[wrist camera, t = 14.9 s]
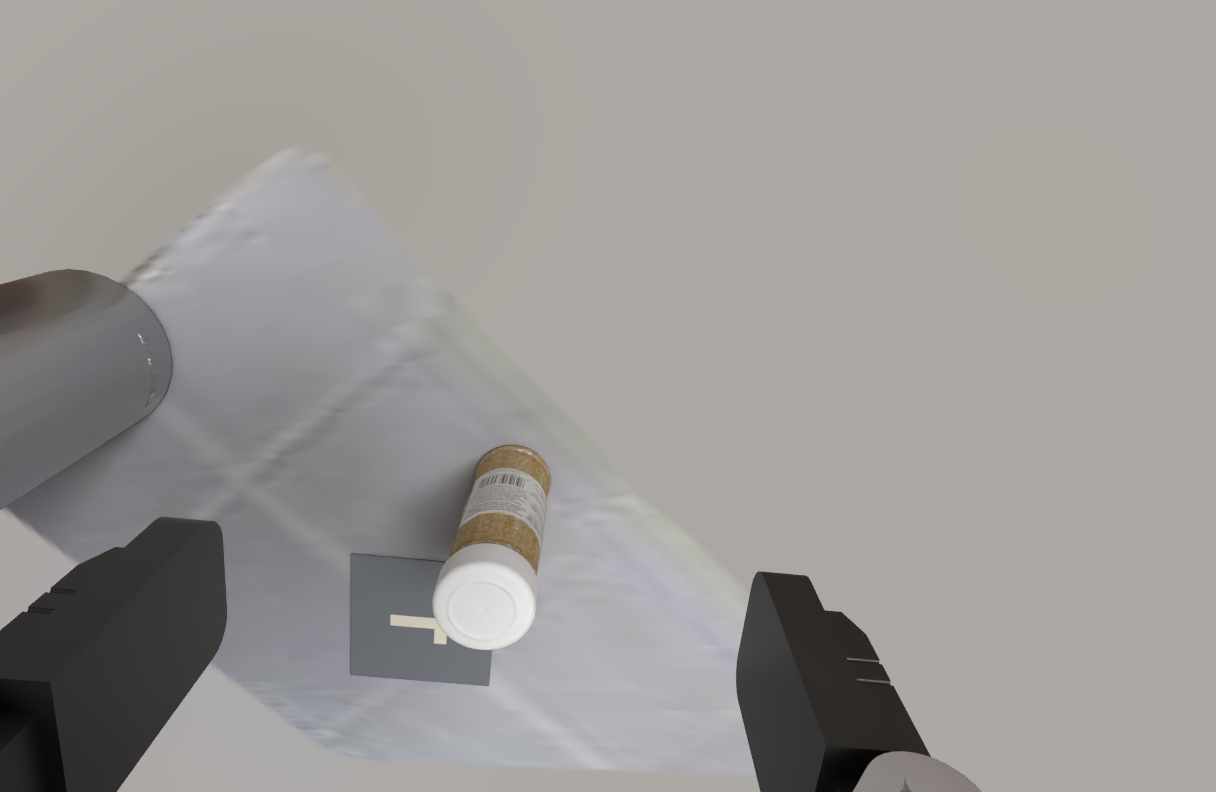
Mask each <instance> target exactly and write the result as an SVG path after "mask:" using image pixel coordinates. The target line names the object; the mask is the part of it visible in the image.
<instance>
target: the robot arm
mask: <svg viewBox="0 0 1216 792" xmlns="http://www.w3.org/2000/svg"><path fill="white" fill-rule="evenodd" d="M171 368H172V358H171V353H170V348H169V343H168V340H167V338H166V336H165V333H164V331H163V328H162V326H161V325H160V323H159V322H158V320H157V318H156V317H155V315H154V314H153V312H152V311H151V310H150V309H149V308H148V307H147V306H146V305H145V303H144V302H143V301H142V300H141V299H140V298H139V297H138V296H136V295H135V294H134V293H132V292H131V291H130V290H128V289H127V288H126V287H124V286H123V285H121V284H119V283H117V282H115V281H113V280H111V279H109V278H107V277H105V276H102V275H99V274H95V273H92V272H88V271H82V270H72V269H65V270H57V271H49V272H45V273H42V274H38V275H34V276H30V277H26V278H23V279H19V280H15V281H11V282H8V283H4V284H0V510H1V509H3V508H4V507H6V506H7V505H9V504H10V503H12V502H14V501H15V500H17V499H18V498H20V497H21V496H23V495H24V494H26V493H28V492H29V491H31V490H32V489H34V488H35V487H37V486H38V485H40V484H42V483H43V482H45V481H46V480H48V479H49V478H51V477H52V476H54V475H56V474H57V473H59V472H60V471H62V470H63V469H65V468H66V467H68V466H70V465H71V464H73V463H74V462H76V461H77V460H79V459H80V458H82V457H84V456H85V455H87V454H88V453H90V452H91V451H93V450H94V449H96V448H98V447H99V446H101V445H102V444H104V443H105V442H107V441H108V440H110V439H111V438H113V437H115V436H116V435H118V434H119V433H121V432H122V431H124V430H125V429H127V428H129V427H130V426H132V425H133V424H135V423H136V422H138V421H139V420H141V419H143V418H144V417H146V416H147V415H149V414H150V413H151V412H152V411H153V410H154V409H155V408H156V407H157V406H158V405H159V404H160V402H161V400H162V399H163V397H164V395H165V394H166V392H167V389H168V386H169V382H170V379H171ZM226 620H227V603H226V586H225V569H224V552H223V537H222V531H221V528H220V526H219V525H218V523H216V522H214V521H204V520H193V519H182V518H171V517H160V518H158V519H156V520H155V521H154V522H153V523H152V524H150V525H149V526H148V527H147V528H146V529H145V530H144V531H143V532H141V533H140V534H139V535H138V536H137V537H136V538H135V539H134V540H132V541H131V542H130V543H129V544H128V545H127V546H126V547H125V548H120V547H115V548H113V549H110V550H108V551H106V552H104V553H102V554H100V555H98V556H96V557H94V558H92V559H90V560H87V561H85V562H83V563H81V564H79V565H77V566H76V567H75V568H74V569H73V570H71V571H70V572H69V573H68V574H67V575H66V576H64V577H63V578H62V579H61V580H60V581H58V582H57V583H56V584H55V585H54V586H52V587H51V591H50V593H46V592H45V593H44V594H43V595H42V596H41V597H40V598H38V599H37V600H36V601H35V602H34V603H32V604H31V605H30V606H29V608H28V611H27V612H22V613H21V614H19V615H18V616H17V617H16V618H15V619H14V620H12V621H11V622H10V623H9V624H8V625H6V626H5V627H4V628H3V629H2V630H0V792H117V790H118V789H119V788H120V786H121V785H122V783H123V782H124V781H125V779H126V778H127V777H128V775H129V774H130V772H131V771H132V770H133V768H134V767H135V765H136V764H137V762H138V761H139V760H140V758H141V757H142V756H143V754H144V753H145V752H146V750H147V749H148V747H149V746H150V745H151V743H152V742H153V741H154V739H155V738H156V736H157V735H158V734H159V732H160V731H161V729H162V728H163V727H164V725H165V724H166V722H167V721H168V720H169V718H170V717H171V715H172V714H173V713H174V711H175V710H176V709H177V707H178V706H179V705H180V703H181V702H182V700H183V699H184V698H185V696H186V695H187V693H188V692H189V691H190V689H191V688H192V687H193V685H194V683H195V682H196V681H197V680H198V678H199V677H200V675H201V674H202V673H203V671H204V670H205V669H206V667H207V666H208V664H209V663H210V662H211V660H212V659H213V657H214V656H215V654H216V653H217V651H218V649H219V646H220V644H221V641H222V638H223V635H224V631H225V627H226ZM736 687H737V696H738V702H739V706H740V710H741V714H742V718H743V722H744V726H745V730H746V734H747V738H748V742H749V746H750V751H751V755H752V759H753V763H754V767H755V771H756V775H757V779H758V783H759V787H760V791H761V792H981V791H980V790H979V789H978V787H976V785H975V784H974V783H972V782H971V781H970V780H969V779H968V778H967V777H966V776H964V775H963V774H961V773H960V772H958V771H957V770H956V769H954V768H952V767H951V766H949V765H947V764H945V763H943V762H941V761H939V760H937V759H934V758H931V756H930V754H929V752H928V751H927V749H926V747H925V745H924V743H923V741H922V739H921V737H920V736H919V734H918V732H917V730H916V728H915V726H914V724H913V722H912V721H911V718H910V717H909V715H908V713H907V711H906V709H905V707H904V705H903V703H902V701H901V700H900V698H899V696H898V694H897V692H896V690H895V688H894V686H891V685H890V679H889V677H888V675H887V673H886V671H885V669H884V667H883V666H882V665H881V664H879V658H878V656H877V654H876V652H875V650H874V649H873V647H872V645H871V643H870V641H869V639H868V637H867V635H866V634H865V633H864V632H863V631H862V630H860V629H859V628H858V627H857V626H856V625H855V624H854V623H853V622H852V621H851V620H850V619H848V618H847V617H846V616H845V615H844V614H843V613H842V612H835V611H825V610H824V609H823V607H822V604H821V602H820V600H819V598H818V596H817V594H816V591H815V589H814V587H813V585H812V583H811V581H810V579H809V578H808V577H807V576H804V575H793V574H781V573H771V572H757V573H756V575H755V577H754V579H753V583H752V587H751V592H750V597H749V602H748V607H747V612H746V617H745V622H744V627H743V632H742V637H741V643H740V648H739V653H738V659H737V669H736Z"/></svg>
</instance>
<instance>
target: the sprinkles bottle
mask: <svg viewBox="0 0 1216 792" xmlns="http://www.w3.org/2000/svg"><path fill="white" fill-rule="evenodd" d="M550 485H551V475H550V472H549V468H548V466H547V465H546V463H545V462H544V460H543V459H542V458H541V457H540V456H539V455H538V454H537V453H535V452H533V451H532V450H530V449H528V448H525V447H521V446H511V445H509V446H503V447H499V448H496V449H494V450H493V451H491V452H489V453H488V454H487V455H485V456H484V458H483V459H482V460H481V461H480V463H479V464H478V467H477V469H476V474H475V482H474V485H473V487H472V491H471V493H470V495H469V497H468V499H467V502H466V505H465V507H464V510H463V513H462V516H461V519H460V523H459V528H458V530H457V534H456V537H455V541H454V544H453V547H452V550H451V554H450V558H449V559H448V560H447V561H446V562H445V564H444V565H443V567H442V569H441V571H440V574H439V577H438V580H437V583H436V586H435V590H434V594H433V600H432V607H433V613H434V617H435V620H436V622H437V623H438V625H439V627H440V628H441V630H442V631H443V632H444V633H445V634H446V635H447V636H448V637H449V638H451V639H452V640H454V641H455V642H457V643H459V644H461V645H463V646H465V647H468V648H472V649H478V650H494V649H499V648H503V647H506V646H508V645H510V644H512V643H514V642H516V641H517V640H519V639H520V638H521V637H522V636H523V635H524V634H525V633H526V632H527V631H528V629H529V628H530V626H531V624H532V622H533V620H534V617H535V612H536V607H537V601H538V593H539V585H538V580H537V570H538V563H539V560H540V555H541V547H542V538H543V531H544V524H545V517H546V510H547V496H548V493H549V489H550Z"/></svg>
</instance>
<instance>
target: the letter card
mask: <svg viewBox="0 0 1216 792" xmlns="http://www.w3.org/2000/svg"><path fill="white" fill-rule="evenodd" d="M444 564H445V562H441V561H430V560H418V559H407V558H396V557H384V556H373V555H362V554H351V675H358V676H370V677H383V678H395V679H407V680H420V681H432V682H444V683H457V684H469V685H482V686H489V677H490V664H491V650H478V649H472V648H468V647H465V646H463V645H461V644H459V643H457V642H455V641H454V640H452V639H451V638H449V637H448V636H447V635H446V634H445V633H444V632H443V631H442V630H441V628H440V627H439V625H438V623H437V622H436V620H435V617H434V613H433V607H432V600H433V594H434V590H435V586H436V583H437V580H438V577H439V574H440V571H441V569H442V567H443V565H444Z"/></svg>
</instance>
